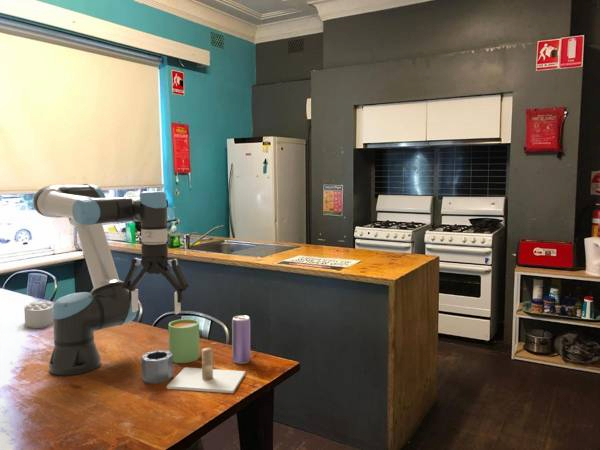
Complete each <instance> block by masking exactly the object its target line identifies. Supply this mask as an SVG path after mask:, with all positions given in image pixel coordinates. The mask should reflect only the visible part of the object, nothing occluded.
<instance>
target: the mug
mask: <svg viewBox="0 0 600 450" xmlns="http://www.w3.org/2000/svg"><path fill="white" fill-rule="evenodd" d="M200 335H201V332H200V321H199V320H197V319H192V318H182V319H175V320H172V321H170V322H168V351H169V352H171V353H172V354H173V363H175V364H187V363H193V362H195V361H197V360H198V359H200Z"/></svg>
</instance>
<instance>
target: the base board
mask: <svg viewBox="0 0 600 450" xmlns="http://www.w3.org/2000/svg"><path fill="white" fill-rule="evenodd" d="M245 375H246V371H245V370H233V369H216V368H215V369H214V368H213V379H212V380H208V381H205V380H203V379H202V367H200V368H199V367H185V366H184V367H183V369H182V370H181V371H180V372H178V374H177V375H176V376H175V377H174V378H172V380H171V381H170V382H169V383H168V384H167V385H166V389H168V390H181V391H194V392H197V391H198V392H208V393H209V392H211V393H223V394H234V393H235V391H236V390H237V388H238V386H239V385H240V383H241V382H242V380H243V379H244V377H245Z"/></svg>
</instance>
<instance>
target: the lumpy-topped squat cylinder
mask: <svg viewBox="0 0 600 450" xmlns="http://www.w3.org/2000/svg"><path fill="white" fill-rule="evenodd" d="M23 307H24V308H23V309H24V310H23V311H24V324H25V326H26V327H27V328H32V329H38V328H40V329H42V328H46V327H50V326H52V325H53V317H52V314H53V303H52V302H51V301H47V302H46V301H43V300H42V301H40V300H39V301H33V302H30V303H29V304H26V305H24V306H23Z"/></svg>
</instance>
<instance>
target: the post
mask: <svg viewBox="0 0 600 450" xmlns="http://www.w3.org/2000/svg"><path fill="white" fill-rule="evenodd" d="M213 352H214V351H213V348H212V347H204V348H202V349H201V368H202V379H203V380H205V381H208V380H212V379H213V369H214V363H213V362H214V359H213V357H214V356H213Z"/></svg>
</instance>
